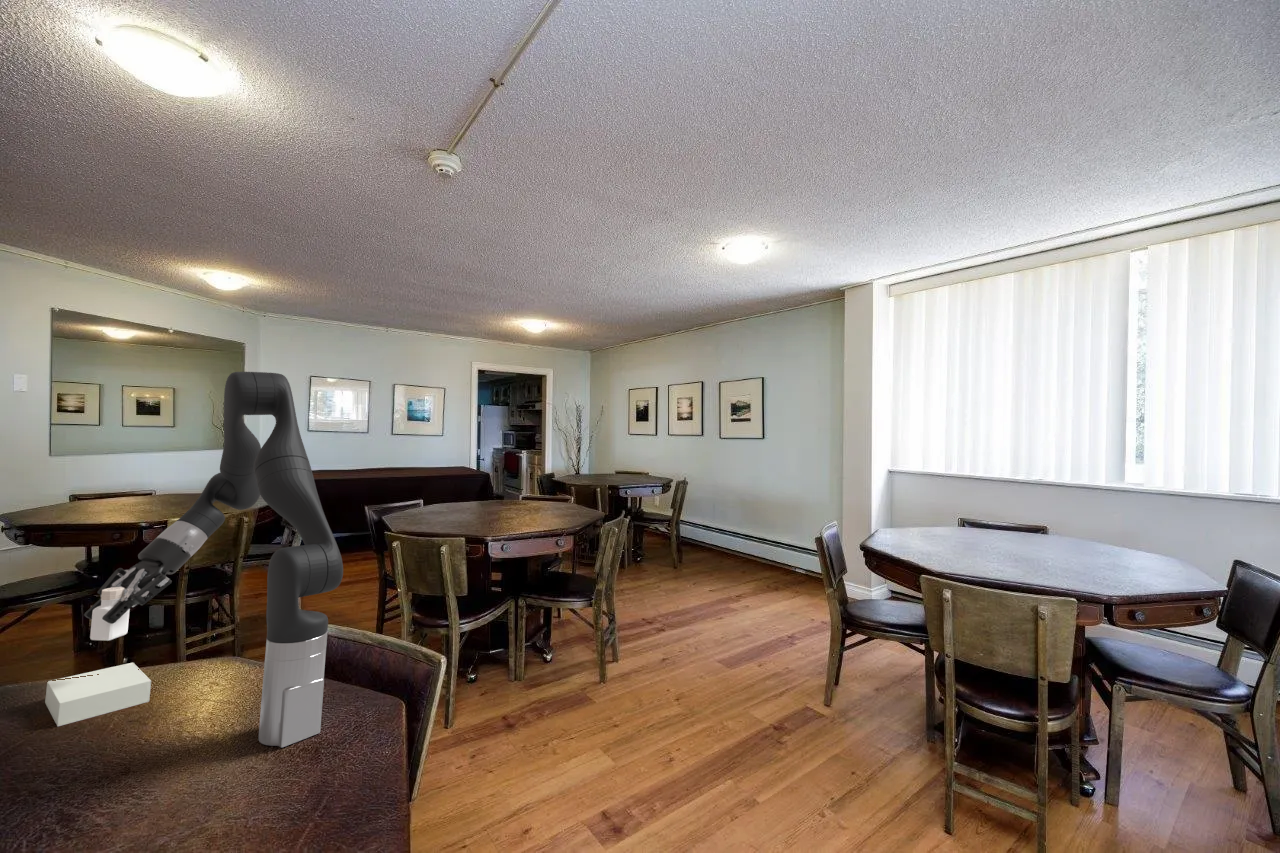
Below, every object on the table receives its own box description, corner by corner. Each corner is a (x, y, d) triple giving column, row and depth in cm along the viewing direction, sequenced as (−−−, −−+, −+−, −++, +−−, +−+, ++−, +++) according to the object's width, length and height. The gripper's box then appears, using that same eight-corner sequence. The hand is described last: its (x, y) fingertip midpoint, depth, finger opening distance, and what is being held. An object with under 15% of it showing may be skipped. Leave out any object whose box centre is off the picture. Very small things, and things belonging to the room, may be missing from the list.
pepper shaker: (108, 641, 99) (113, 592, 99) (87, 641, 98) (92, 591, 99) (129, 634, 102) (133, 586, 103) (109, 633, 102) (113, 586, 103)
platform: (149, 701, 100) (151, 680, 100) (57, 726, 90) (60, 703, 91) (131, 681, 108) (133, 662, 108) (45, 702, 98) (47, 681, 98)
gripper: (137, 533, 110) (56, 605, 98) (185, 539, 107) (107, 614, 94) (163, 553, 115) (89, 624, 103) (210, 560, 112) (138, 634, 99)
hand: (98, 619), depth 99 cm, fingers closed on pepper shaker, 4 cm apart
